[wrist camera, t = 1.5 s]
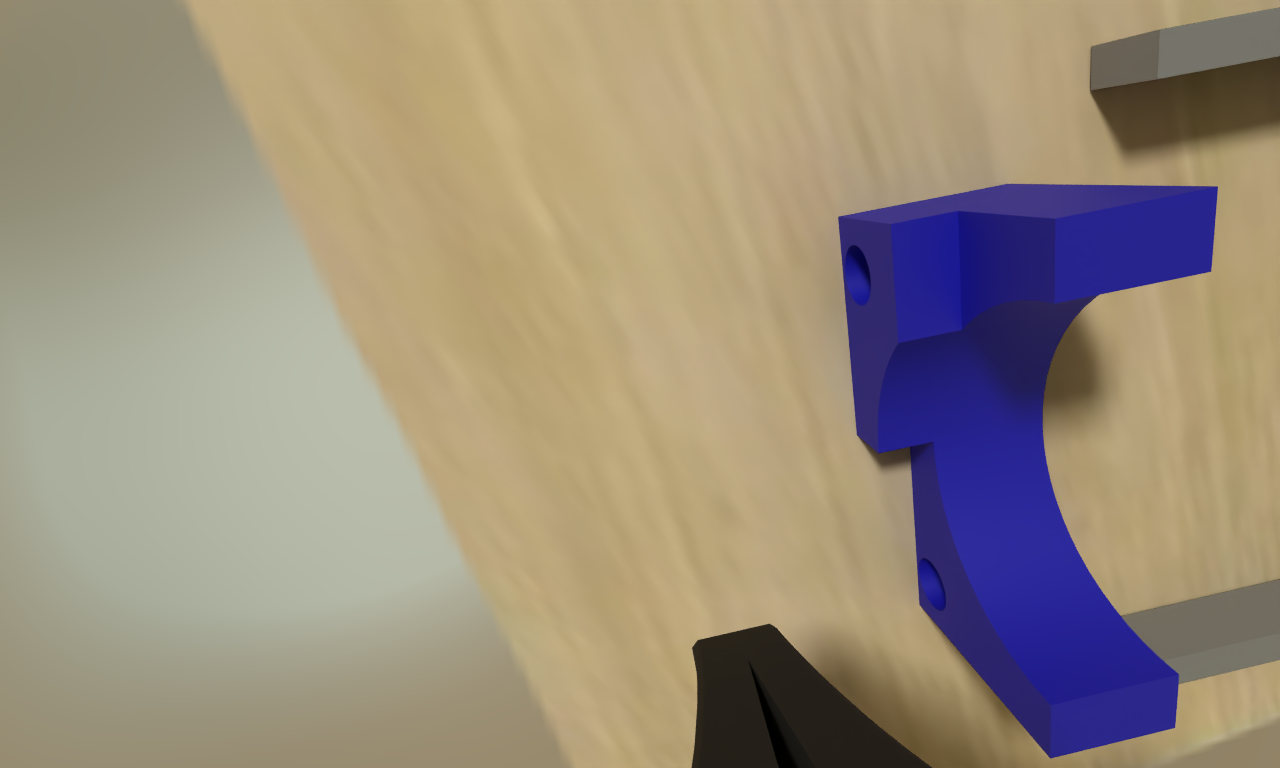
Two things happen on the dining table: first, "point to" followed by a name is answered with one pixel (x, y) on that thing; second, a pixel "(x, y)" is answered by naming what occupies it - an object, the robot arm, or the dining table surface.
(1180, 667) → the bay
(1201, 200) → the blue plastic bracket
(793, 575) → the dining table surface
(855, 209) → the dining table surface
